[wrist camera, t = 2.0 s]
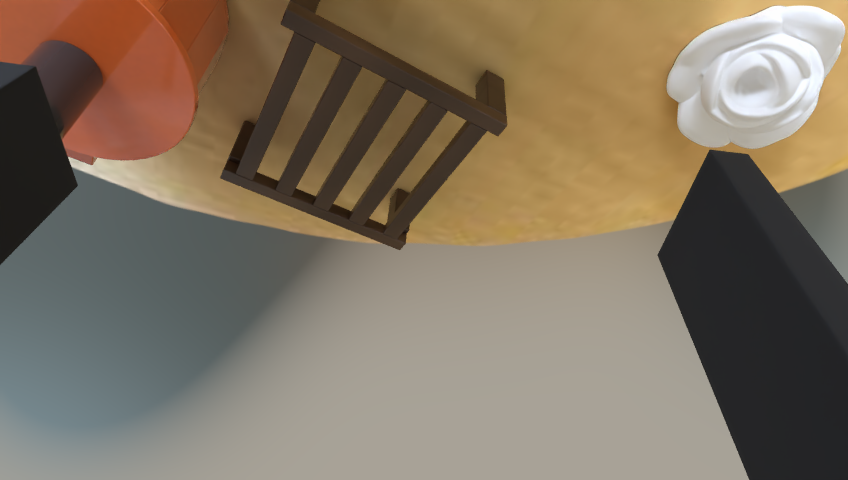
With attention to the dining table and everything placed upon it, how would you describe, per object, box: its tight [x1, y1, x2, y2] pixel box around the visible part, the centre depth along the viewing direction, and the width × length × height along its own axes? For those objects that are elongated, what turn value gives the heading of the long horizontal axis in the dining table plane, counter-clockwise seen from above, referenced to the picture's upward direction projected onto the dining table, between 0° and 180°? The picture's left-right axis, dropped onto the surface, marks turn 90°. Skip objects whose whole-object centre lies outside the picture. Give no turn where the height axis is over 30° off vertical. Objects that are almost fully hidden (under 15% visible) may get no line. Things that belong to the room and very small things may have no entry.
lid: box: [0, 0, 198, 160], centre depth 26 cm, size 12×12×10 cm
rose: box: [666, 6, 845, 149], centre depth 34 cm, size 10×4×10 cm
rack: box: [221, 0, 507, 250], centre depth 37 cm, size 14×14×5 cm
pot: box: [65, 0, 229, 165], centre depth 31 cm, size 11×17×8 cm
